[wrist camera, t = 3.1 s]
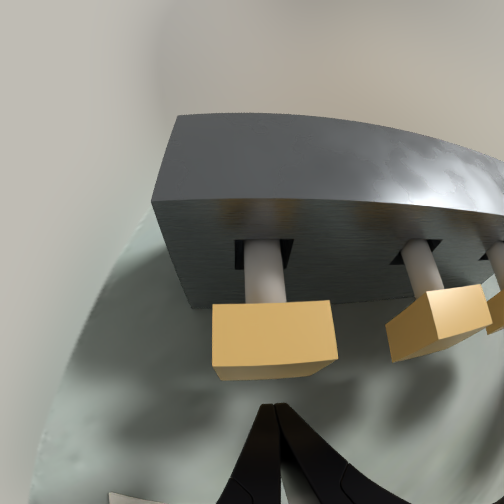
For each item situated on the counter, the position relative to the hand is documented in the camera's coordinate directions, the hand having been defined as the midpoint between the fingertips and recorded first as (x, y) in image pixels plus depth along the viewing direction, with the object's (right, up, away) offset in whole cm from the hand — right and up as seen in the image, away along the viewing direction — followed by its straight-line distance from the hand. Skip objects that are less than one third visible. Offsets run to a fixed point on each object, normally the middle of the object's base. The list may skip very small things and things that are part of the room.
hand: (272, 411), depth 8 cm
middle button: (+8, +3, +5) cm, 10 cm away
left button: (0, +3, +5) cm, 6 cm away
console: (+7, +4, +11) cm, 14 cm away
